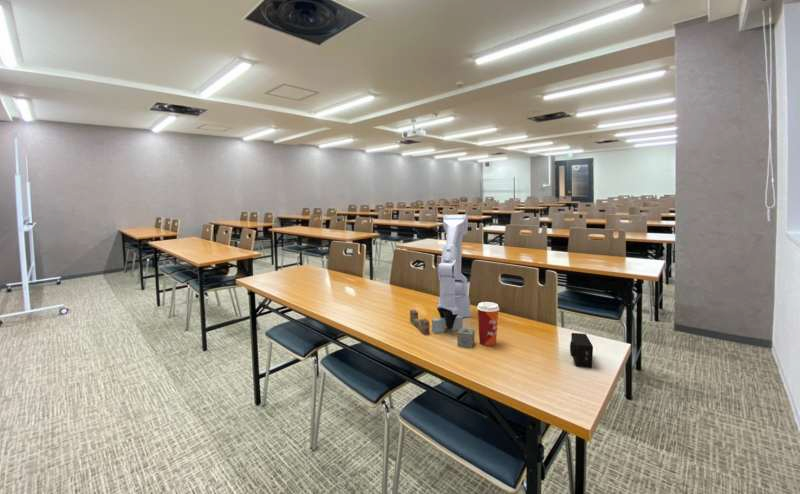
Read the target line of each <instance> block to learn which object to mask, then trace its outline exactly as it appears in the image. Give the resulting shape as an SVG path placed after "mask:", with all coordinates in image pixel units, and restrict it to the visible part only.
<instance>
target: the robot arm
mask: <svg viewBox="0 0 800 494" xmlns="http://www.w3.org/2000/svg"><path fill="white" fill-rule="evenodd" d="M468 224H469V220H468V215H467V214H465V213H464V214H444V215H443V217H442V227H443V229H444V232H445V234H446V243H445V244H446V245H444V247H442V253H441V259H440V263H438V264H437V265H438V266H437V277H438V281H439V298H438V299H437V305H436V306H437V308H436V310H437V312H438V314H439V317H440V318H445V320H446V325H445V326H444V327H446V329H447V330H451V329H453V325H454V321H455V319H456V317H457V316H462V317H463V318H470V317H471V316H472V315H471V300H470V297H469V295H468V279H467V277H466V276H465V275H464V274H463V273H462V249H463V248H462V247H463V237H464V236H465V235H467V234H468V229H469V227H468V226H469V225H468Z"/></svg>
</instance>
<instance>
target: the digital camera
mask: <svg viewBox="0 0 800 494" xmlns="http://www.w3.org/2000/svg"><path fill="white" fill-rule="evenodd" d="M593 349H594V347H593V344H592V342H591V341H590V339H589V337H588V336H587V333H581V332H571V339H570V344H569V352H570V356H571V357H572V359H573V361H574V364H575V367H577V368H584V369H585V368H587V369H592V368H593V357H594V356H593V354H594V353H593V352H594V350H593Z"/></svg>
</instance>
